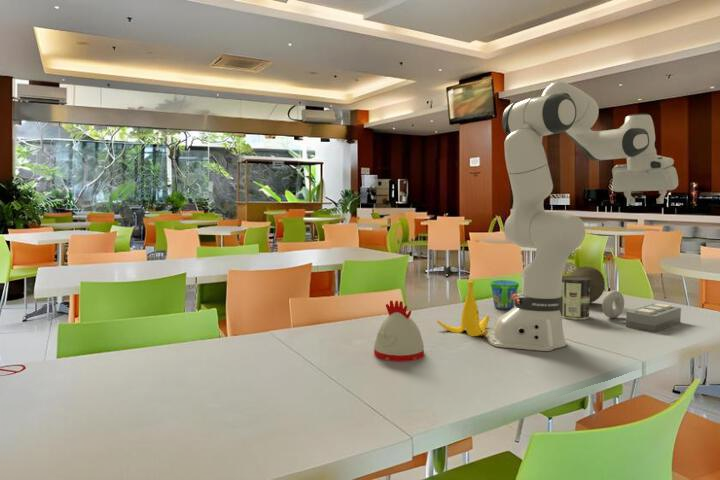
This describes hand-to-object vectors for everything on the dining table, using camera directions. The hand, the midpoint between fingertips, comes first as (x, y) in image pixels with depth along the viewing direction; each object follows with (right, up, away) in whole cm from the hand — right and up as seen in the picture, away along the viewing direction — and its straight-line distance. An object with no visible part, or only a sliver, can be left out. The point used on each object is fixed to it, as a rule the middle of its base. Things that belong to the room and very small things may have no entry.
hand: (645, 203), depth 176 cm
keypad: (+3, -41, 0) cm, 41 cm away
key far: (+7, -37, +4) cm, 38 cm away
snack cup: (-40, -39, +28) cm, 62 cm away
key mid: (+3, -37, 0) cm, 37 cm away
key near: (-2, -37, -4) cm, 38 cm away
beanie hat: (-85, -44, -30) cm, 101 cm away
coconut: (-6, -38, +34) cm, 51 cm away
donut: (-7, -40, +10) cm, 42 cm away
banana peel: (-63, -42, -7) cm, 76 cm away
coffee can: (-19, -40, +13) cm, 46 cm away
